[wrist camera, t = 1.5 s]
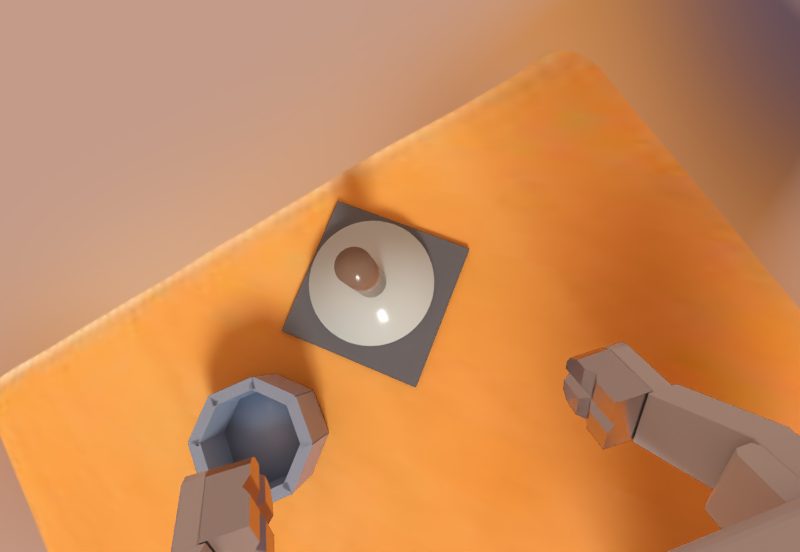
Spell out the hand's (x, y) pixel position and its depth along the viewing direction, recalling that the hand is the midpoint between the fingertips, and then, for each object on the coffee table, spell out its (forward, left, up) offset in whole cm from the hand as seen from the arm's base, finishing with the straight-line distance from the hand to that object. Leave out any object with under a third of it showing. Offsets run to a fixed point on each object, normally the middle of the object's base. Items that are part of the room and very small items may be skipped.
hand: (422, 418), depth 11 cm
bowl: (+12, +11, -30) cm, 34 cm away
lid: (+9, -5, -29) cm, 31 cm away
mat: (+8, -5, -30) cm, 31 cm away
